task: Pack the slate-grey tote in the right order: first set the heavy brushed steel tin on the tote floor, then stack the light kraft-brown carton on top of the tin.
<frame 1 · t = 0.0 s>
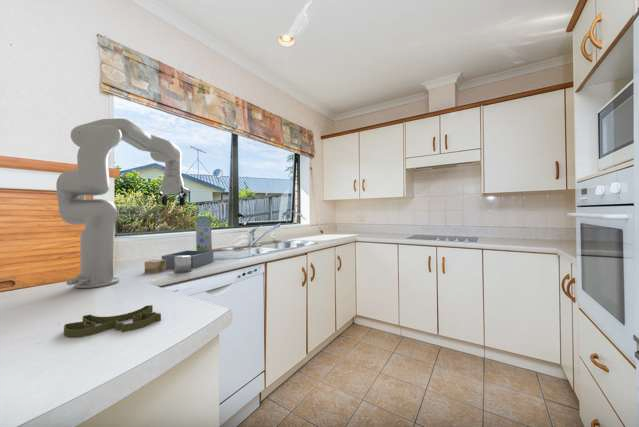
hand: (173, 205, 144), 31 cm above the table, tool pointing down, fingers open, 9 cm apart
kraft carton: (155, 271, 121), on the table
steel tin: (182, 271, 120), on the table
tote: (189, 264, 138), on the table
snack box: (203, 257, 162), on the table
cookie cutter: (115, 327, 62), on the table
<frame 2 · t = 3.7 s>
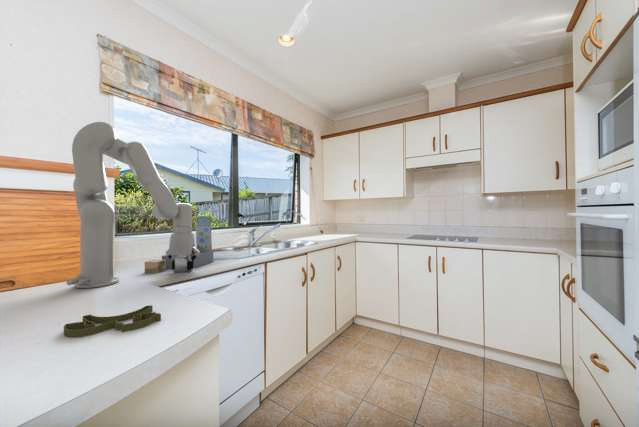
hand: (182, 269, 120), 1 cm above the table, tool pointing down, fingers closed on steel tin, 6 cm apart
steel tin: (182, 271, 120), on the table, touching gripper
everything else where it was.
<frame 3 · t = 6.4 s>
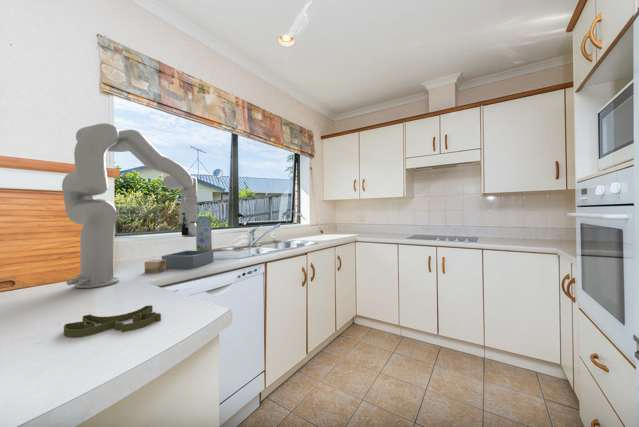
hand: (189, 234, 138), 16 cm above the table, tool pointing down, fingers closed on steel tin, 6 cm apart
steel tin: (189, 236, 137), point 15 cm above the table, touching gripper
everything else where it was.
when the fingers open (3 cm above the table, at t = 9.2 s): steel tin drops 1 cm, resting on tote.
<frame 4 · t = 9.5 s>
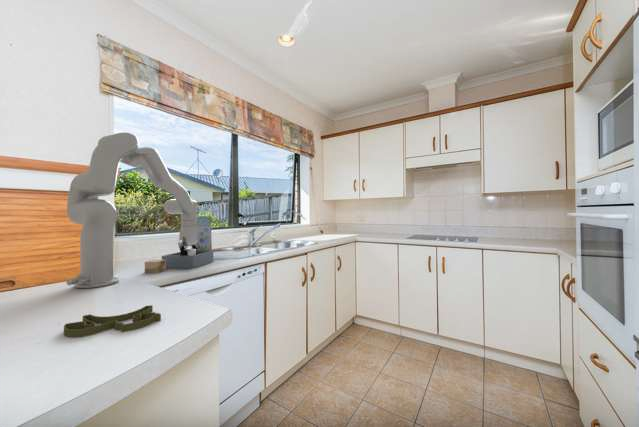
hand: (189, 256, 138), 4 cm above the table, tool pointing down, fingers open, 9 cm apart
steel tin: (189, 262, 137), point 1 cm above the table, touching tote
everything else where it was.
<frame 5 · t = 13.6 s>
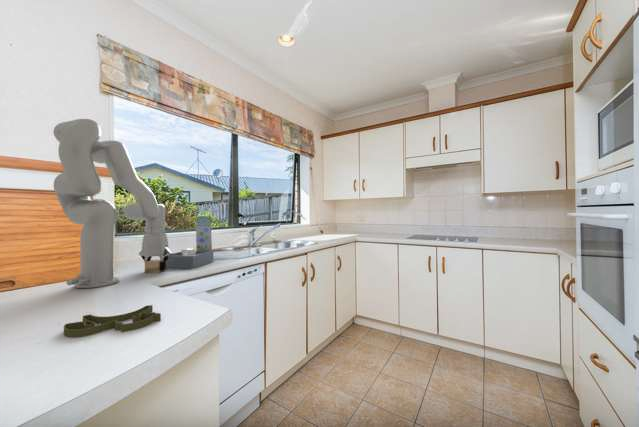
hand: (155, 269, 121), 1 cm above the table, tool pointing down, fingers closed on kraft carton, 6 cm apart
kraft carton: (155, 271, 121), on the table, touching gripper
everything else where it was.
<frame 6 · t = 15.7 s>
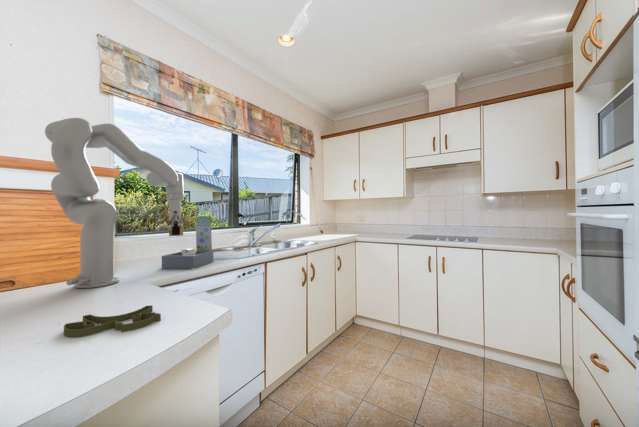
hand: (176, 233, 131), 16 cm above the table, tool pointing down, fingers closed on kraft carton, 6 cm apart
kraft carton: (176, 235, 131), point 16 cm above the table, touching gripper
everything else where it was.
when the fingers open (10 cm above the table, at t = 18.0 s): kraft carton drops 1 cm, resting on steel tin.
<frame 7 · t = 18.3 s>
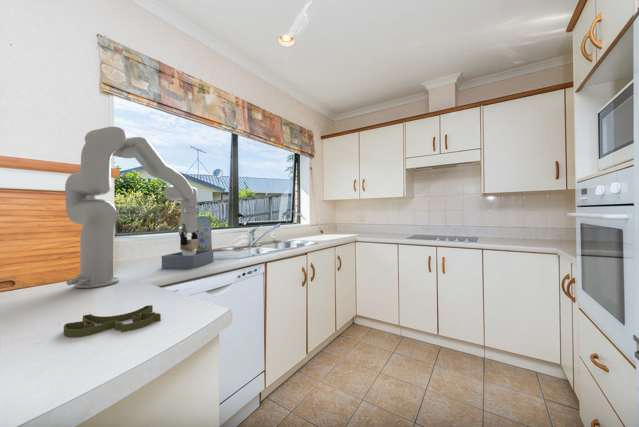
hand: (189, 243, 138), 11 cm above the table, tool pointing down, fingers open, 9 cm apart
kraft carton: (189, 249, 138), point 8 cm above the table, touching steel tin
steel tin: (189, 262, 137), point 1 cm above the table, touching kraft carton, tote
everything else where it was.
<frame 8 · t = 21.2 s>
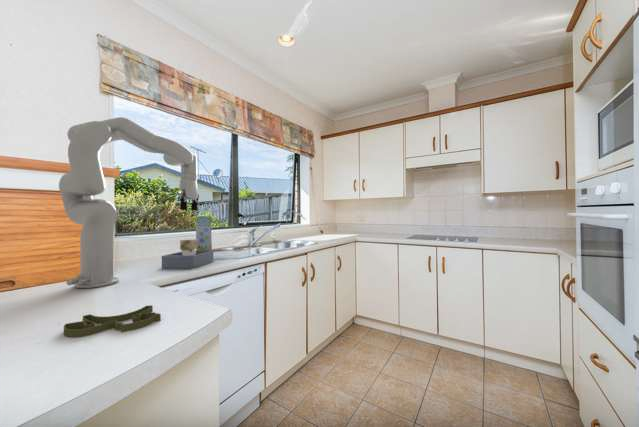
hand: (189, 210, 138), 28 cm above the table, tool pointing down, fingers open, 9 cm apart
nothing on the table moved.
at the end: steel tin inside the target area on the tote (0.2 cm from its centre), point 1.0 cm above the tote's base; steel tin tilted 0°; kraft carton 0.2 cm off-centre on the steel tin, point 7.0 cm above the steel tin's base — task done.
